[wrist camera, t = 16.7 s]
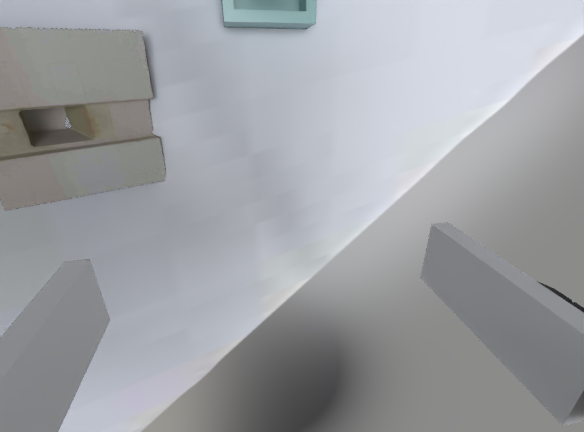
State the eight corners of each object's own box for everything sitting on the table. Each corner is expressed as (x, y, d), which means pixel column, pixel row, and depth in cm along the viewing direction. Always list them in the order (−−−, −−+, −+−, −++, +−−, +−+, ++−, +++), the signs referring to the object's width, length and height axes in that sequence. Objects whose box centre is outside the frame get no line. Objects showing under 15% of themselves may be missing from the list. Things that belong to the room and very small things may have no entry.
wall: (100, 18, 33) (-108, 5, 23) (144, 26, 29) (-85, 15, 19) (130, 159, 42) (-10, 195, 32) (167, 180, 38) (20, 230, 28)
